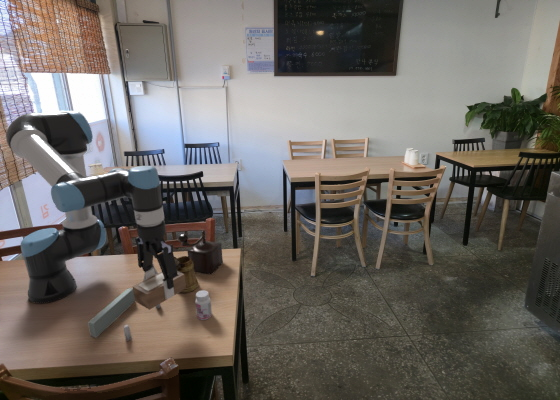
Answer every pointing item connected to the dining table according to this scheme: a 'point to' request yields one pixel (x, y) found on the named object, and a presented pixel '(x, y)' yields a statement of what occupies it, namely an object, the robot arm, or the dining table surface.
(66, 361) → the dining table surface
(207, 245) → the dark brown coffee grinder
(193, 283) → the wooden mug
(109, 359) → the dining table surface
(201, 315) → the pill bottle
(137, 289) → the frame
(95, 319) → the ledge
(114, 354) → the dining table surface
